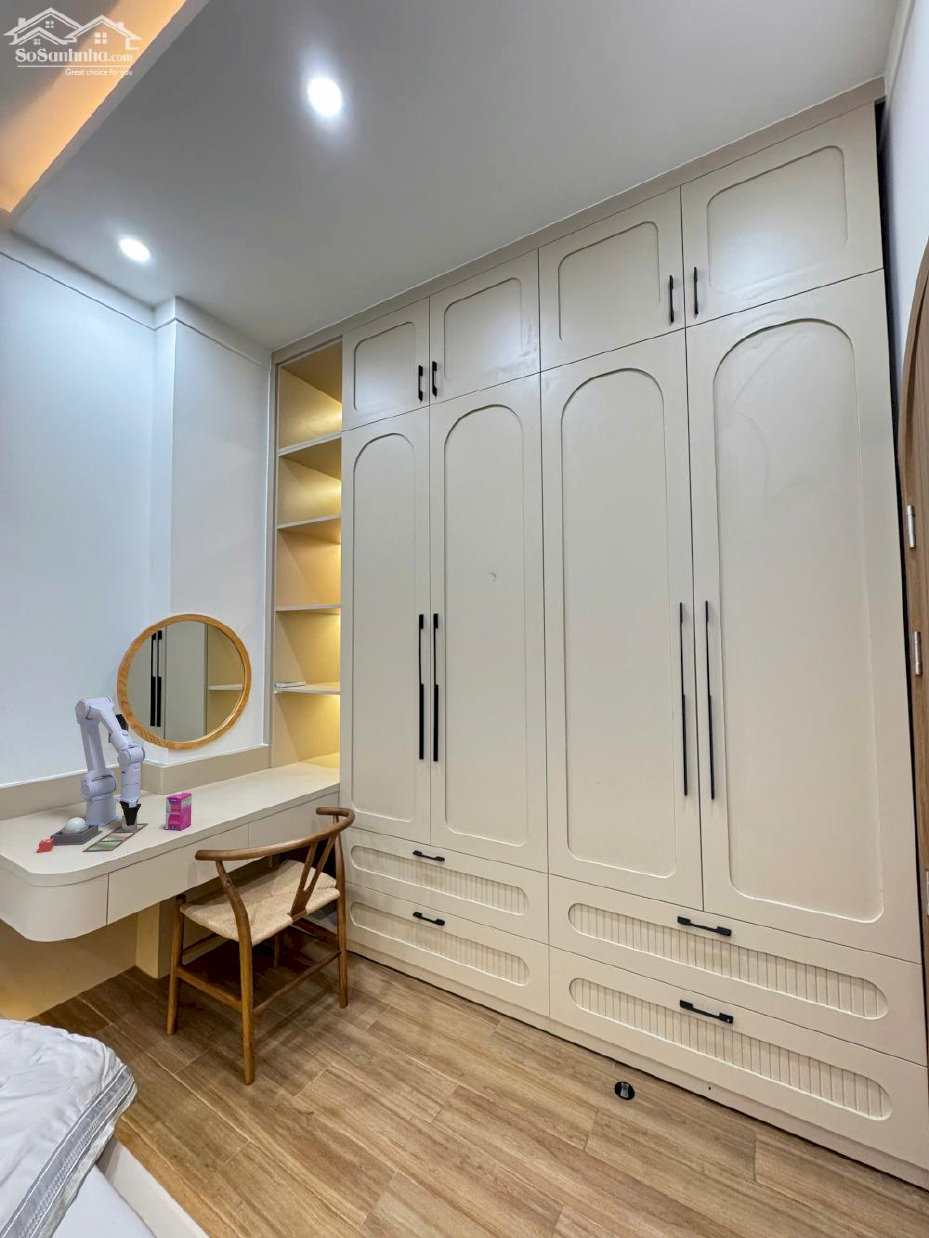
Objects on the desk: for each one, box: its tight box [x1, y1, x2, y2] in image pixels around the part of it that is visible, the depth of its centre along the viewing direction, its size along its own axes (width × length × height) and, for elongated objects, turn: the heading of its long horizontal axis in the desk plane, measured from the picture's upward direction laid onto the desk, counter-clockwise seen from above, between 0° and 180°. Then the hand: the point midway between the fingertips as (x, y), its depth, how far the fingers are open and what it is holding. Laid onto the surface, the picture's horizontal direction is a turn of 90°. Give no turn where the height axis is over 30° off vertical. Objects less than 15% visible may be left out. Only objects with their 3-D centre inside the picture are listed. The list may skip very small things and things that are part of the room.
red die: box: [38, 838, 55, 854], centre depth 161 cm, size 3×3×3 cm
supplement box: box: [165, 791, 193, 832], centre depth 181 cm, size 6×6×12 cm
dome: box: [61, 816, 88, 835], centre depth 171 cm, size 7×7×6 cm
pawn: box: [121, 814, 138, 831], centre depth 179 cm, size 4×4×7 cm
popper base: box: [49, 824, 103, 847], centre depth 170 cm, size 11×11×3 cm
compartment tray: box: [82, 822, 149, 853], centre depth 172 cm, size 23×8×1 cm, turn 7°
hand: (129, 823), depth 179 cm, fingers closed on pawn, 4 cm apart
